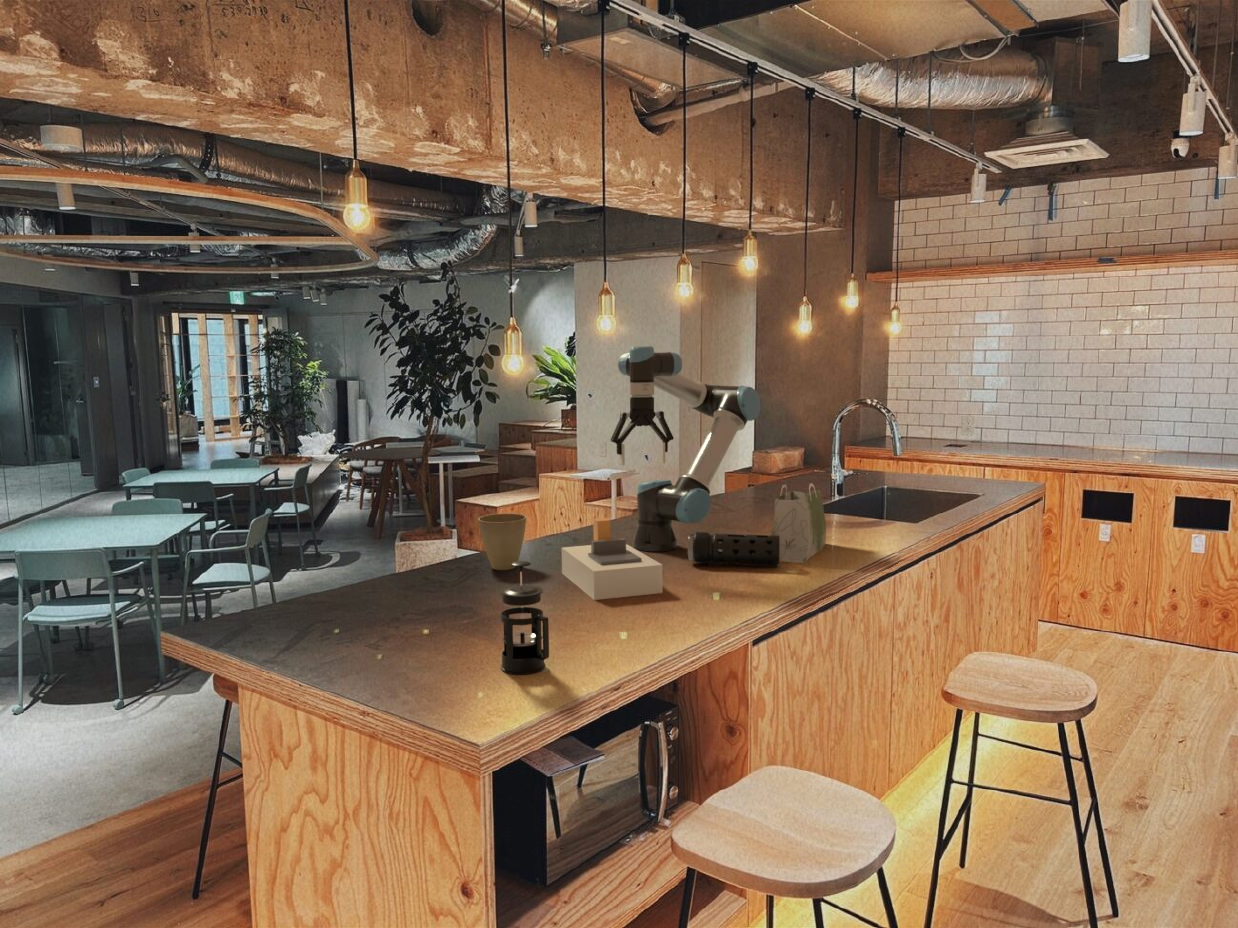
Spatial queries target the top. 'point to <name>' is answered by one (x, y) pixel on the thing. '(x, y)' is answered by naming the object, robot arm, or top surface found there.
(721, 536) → the muzzle brake
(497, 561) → the plant pot
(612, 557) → the shutter
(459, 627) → the top surface
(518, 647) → the french press
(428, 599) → the top surface
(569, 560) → the socket block
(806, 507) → the grocery bag
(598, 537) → the plug peg
